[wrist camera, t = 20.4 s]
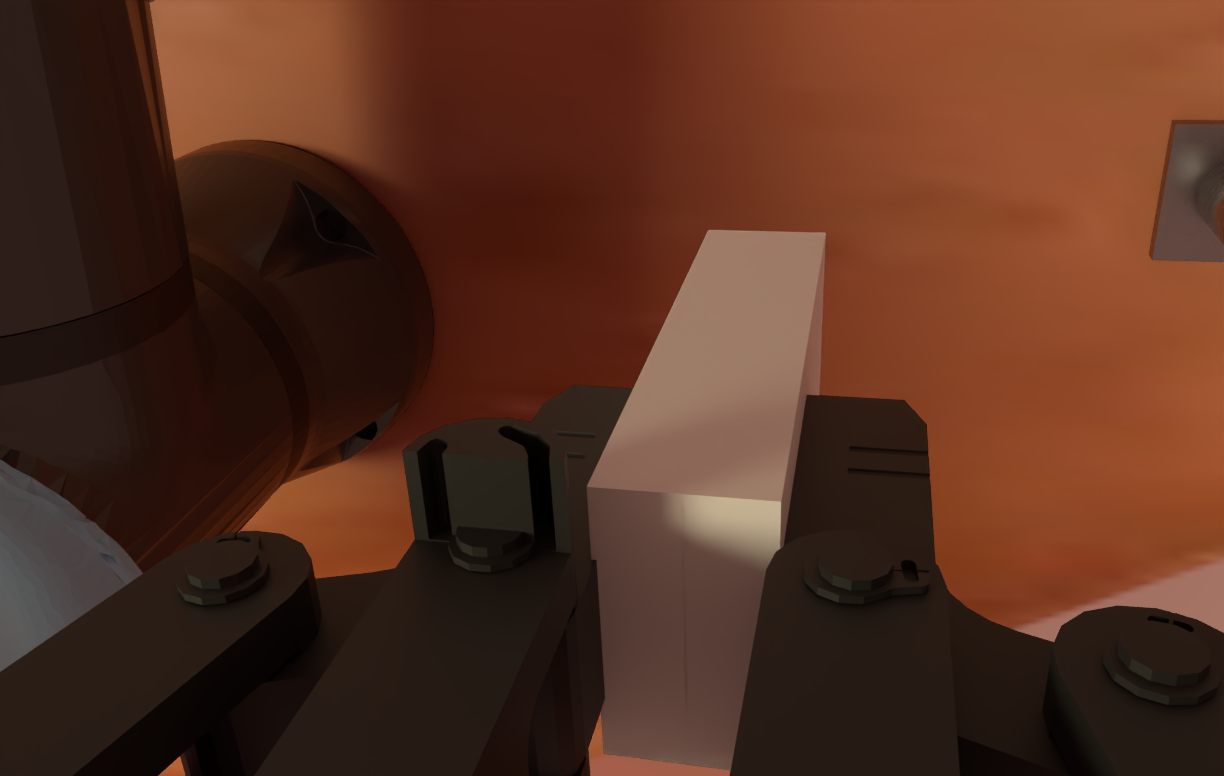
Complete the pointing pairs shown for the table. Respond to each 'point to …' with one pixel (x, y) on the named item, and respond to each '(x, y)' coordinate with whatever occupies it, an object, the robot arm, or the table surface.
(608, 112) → the table surface
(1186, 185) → the post
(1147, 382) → the table surface
